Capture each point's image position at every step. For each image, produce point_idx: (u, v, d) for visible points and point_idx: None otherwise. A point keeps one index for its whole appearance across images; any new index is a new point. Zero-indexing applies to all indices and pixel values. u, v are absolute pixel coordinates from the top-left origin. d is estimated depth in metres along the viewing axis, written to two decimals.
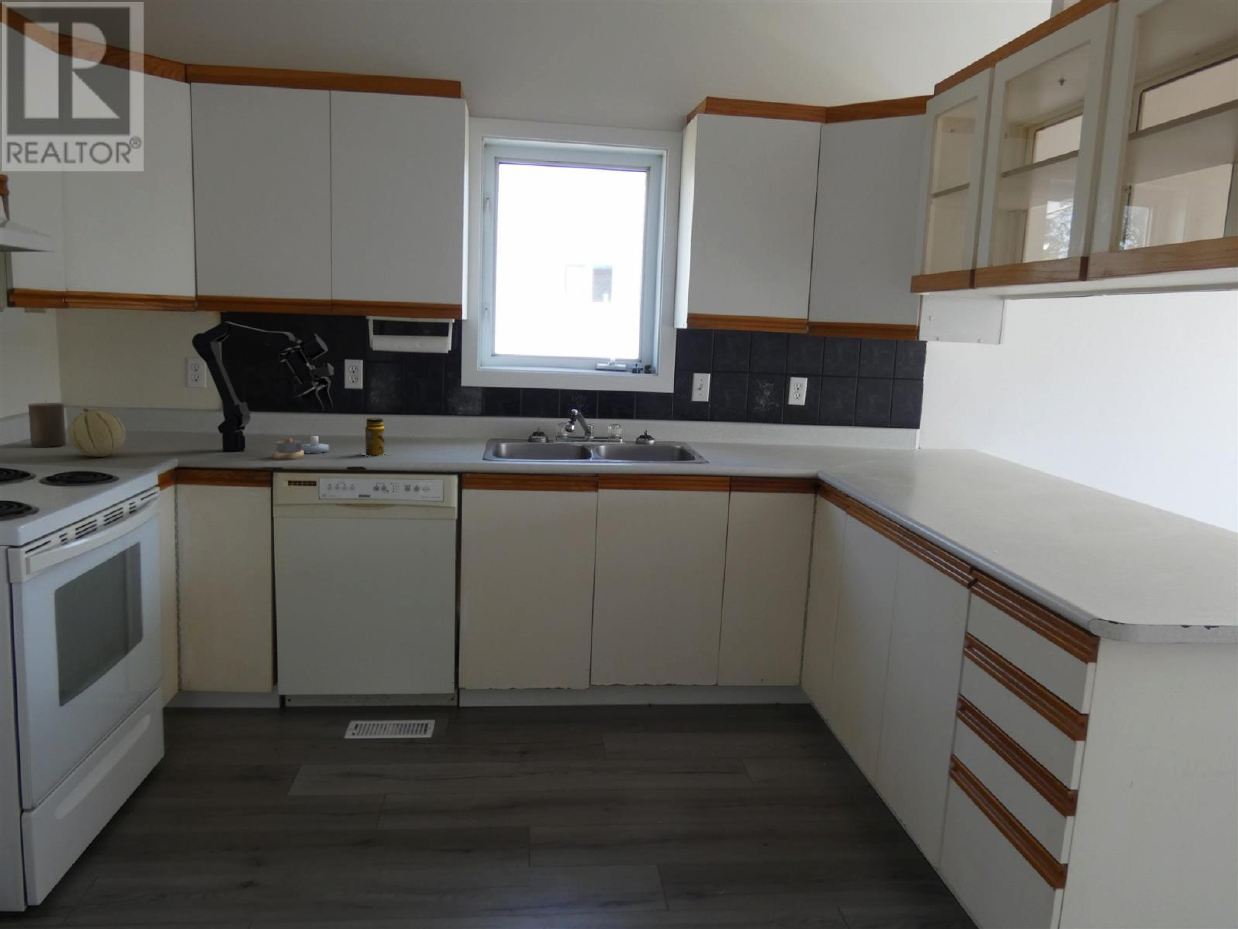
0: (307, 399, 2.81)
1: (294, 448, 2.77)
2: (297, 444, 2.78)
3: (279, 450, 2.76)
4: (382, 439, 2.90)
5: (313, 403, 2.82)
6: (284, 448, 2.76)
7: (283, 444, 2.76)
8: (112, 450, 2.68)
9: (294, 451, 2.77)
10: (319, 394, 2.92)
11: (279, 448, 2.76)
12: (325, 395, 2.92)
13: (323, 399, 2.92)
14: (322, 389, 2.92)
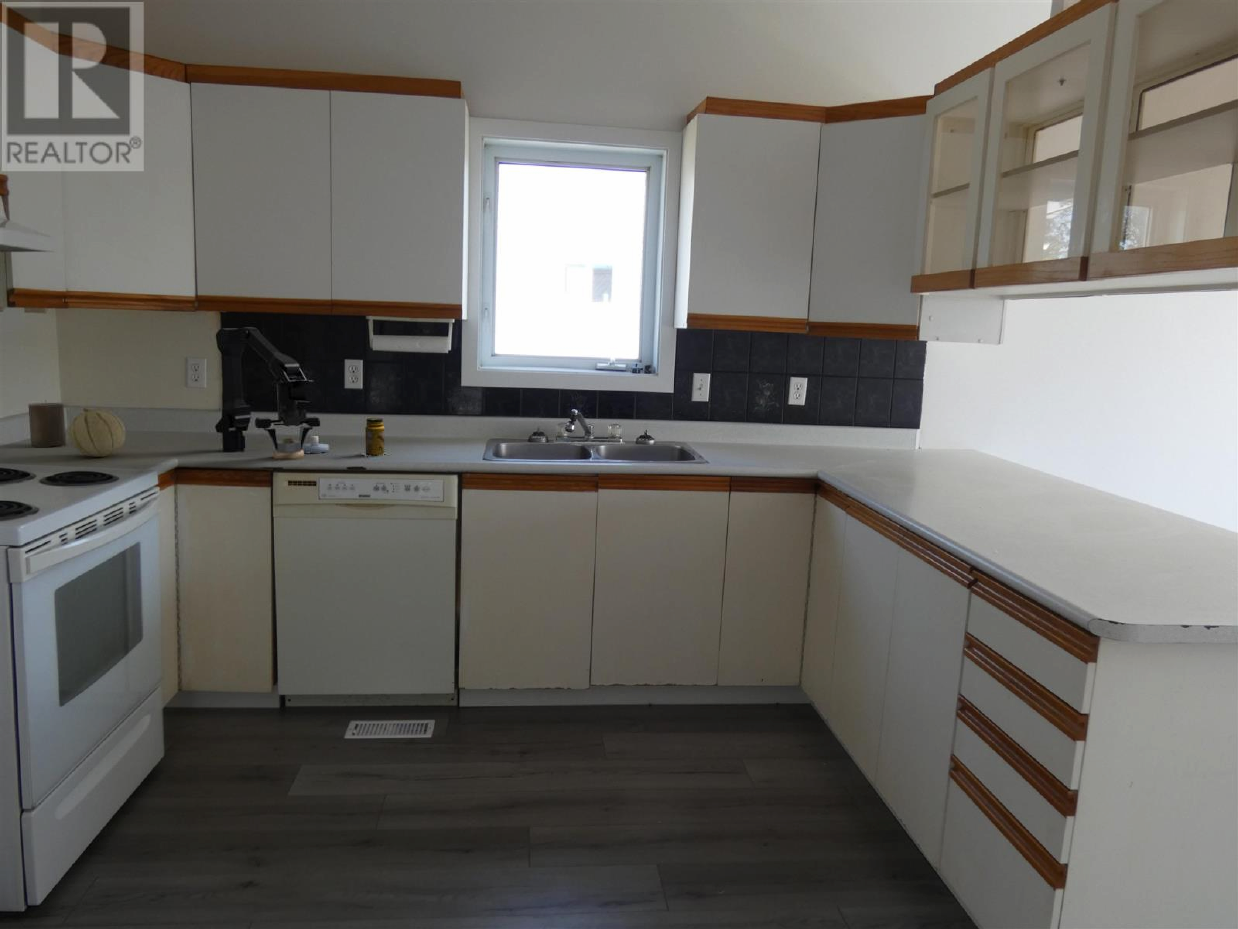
0: (269, 432, 2.77)
1: (294, 448, 2.77)
2: (297, 444, 2.78)
3: (279, 450, 2.76)
4: (382, 439, 2.90)
5: None
6: (284, 448, 2.76)
7: (283, 444, 2.76)
8: (112, 450, 2.68)
9: (294, 451, 2.77)
10: (300, 430, 2.82)
11: (279, 448, 2.76)
12: (301, 435, 2.81)
13: (300, 437, 2.82)
14: (302, 428, 2.80)
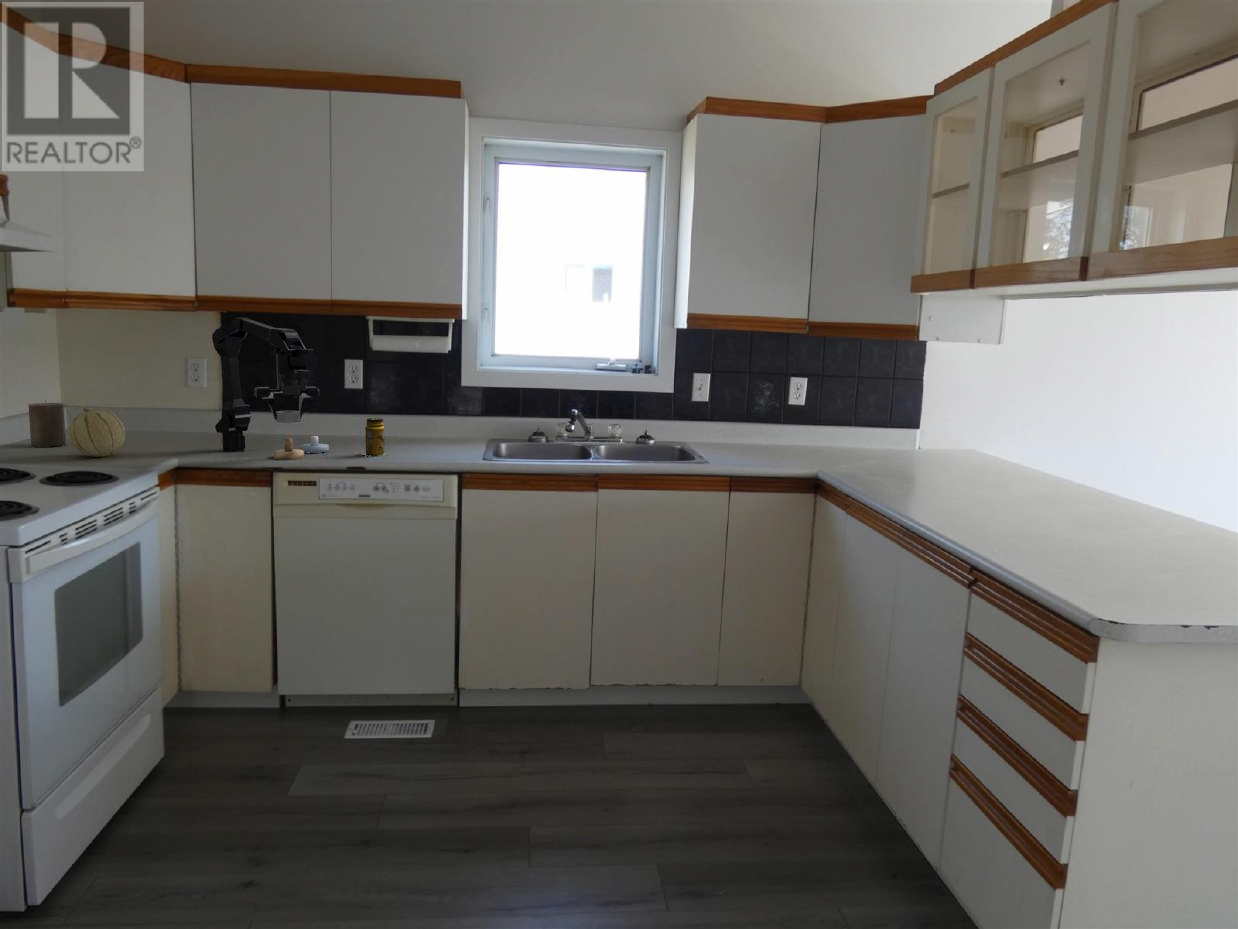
0: (268, 402, 2.76)
1: (293, 418, 2.75)
2: (296, 414, 2.76)
3: (278, 420, 2.75)
4: (382, 439, 2.90)
5: (271, 409, 2.76)
6: (283, 418, 2.74)
7: (282, 414, 2.74)
8: (112, 450, 2.68)
9: (293, 421, 2.76)
10: (300, 401, 2.80)
11: (278, 418, 2.75)
12: (300, 405, 2.79)
13: (299, 407, 2.80)
14: (301, 398, 2.79)
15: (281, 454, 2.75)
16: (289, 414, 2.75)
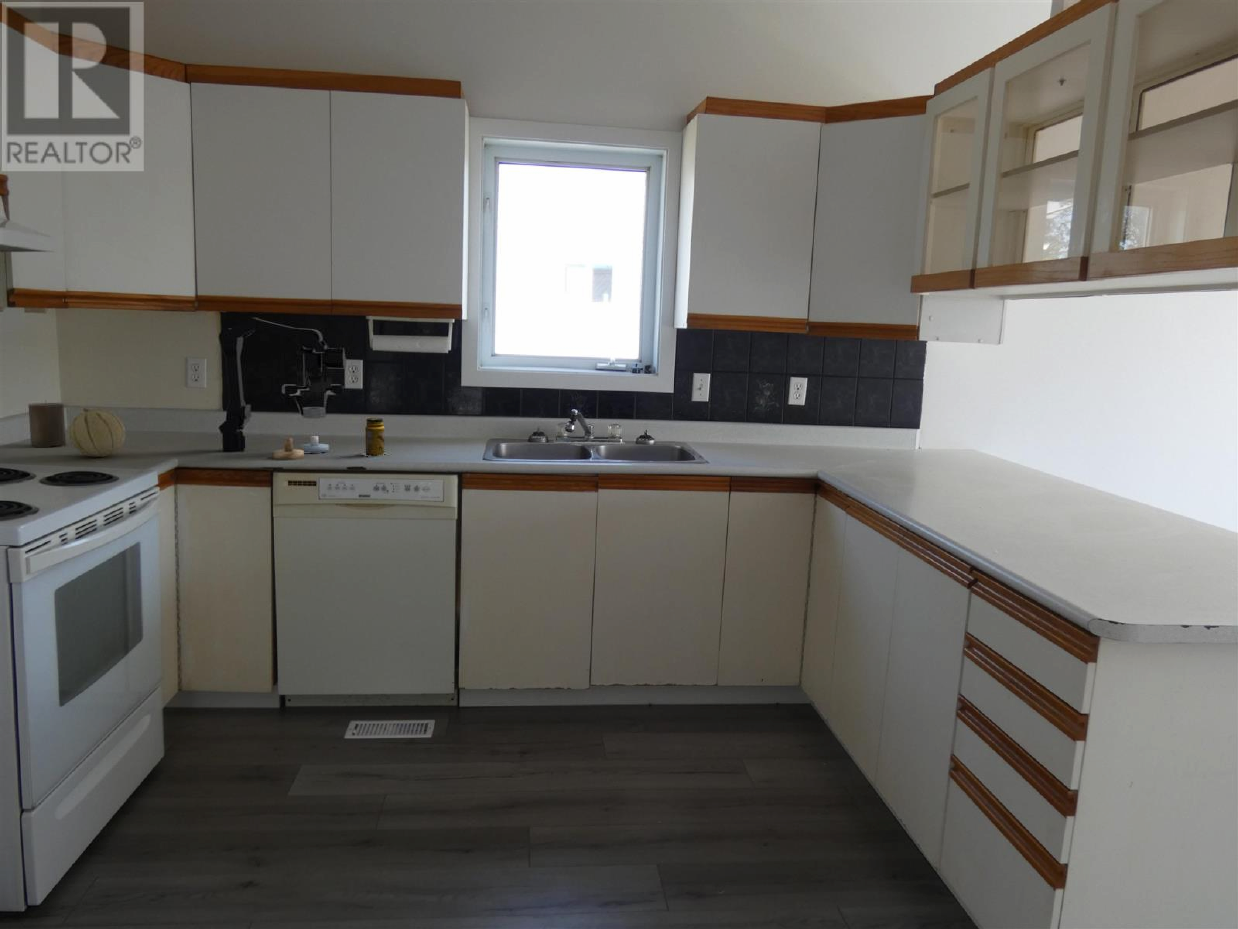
0: (295, 399, 2.89)
1: (319, 414, 2.89)
2: (322, 410, 2.90)
3: (305, 416, 2.88)
4: (382, 439, 2.90)
5: (297, 405, 2.89)
6: (310, 414, 2.88)
7: (309, 410, 2.88)
8: (112, 450, 2.68)
9: (319, 417, 2.89)
10: (325, 397, 2.94)
11: (305, 414, 2.88)
12: (325, 402, 2.92)
13: (324, 404, 2.94)
14: (326, 395, 2.92)
15: (281, 454, 2.75)
16: (315, 410, 2.88)
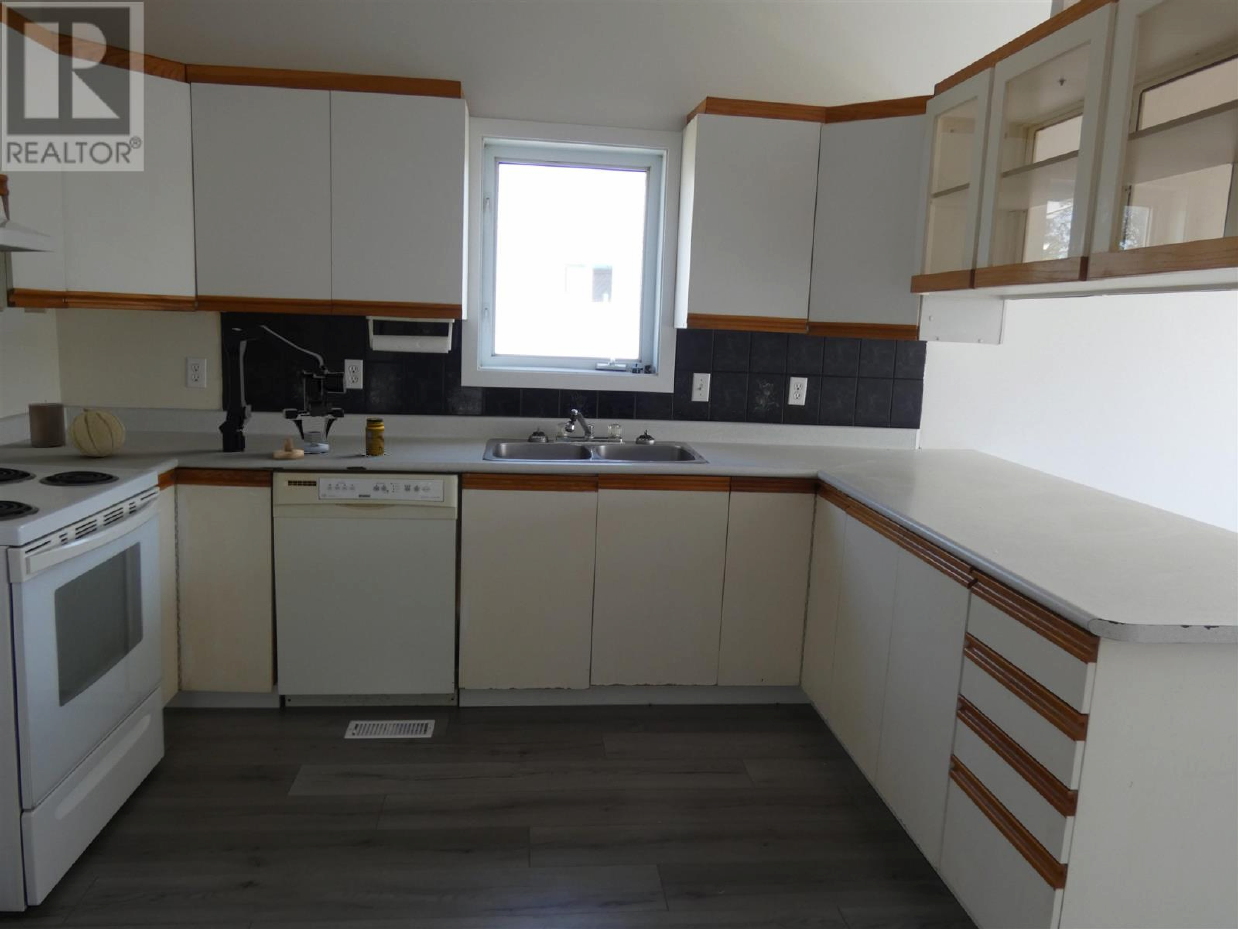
0: (295, 423, 2.91)
1: (320, 438, 2.90)
2: (322, 434, 2.91)
3: (305, 440, 2.90)
4: (382, 439, 2.90)
5: (298, 430, 2.91)
6: (310, 438, 2.89)
7: (309, 434, 2.89)
8: (112, 450, 2.68)
9: (320, 441, 2.90)
10: (325, 421, 2.95)
11: (305, 438, 2.89)
12: (326, 426, 2.94)
13: (324, 428, 2.95)
14: (326, 419, 2.94)
15: (281, 454, 2.75)
16: (315, 434, 2.89)
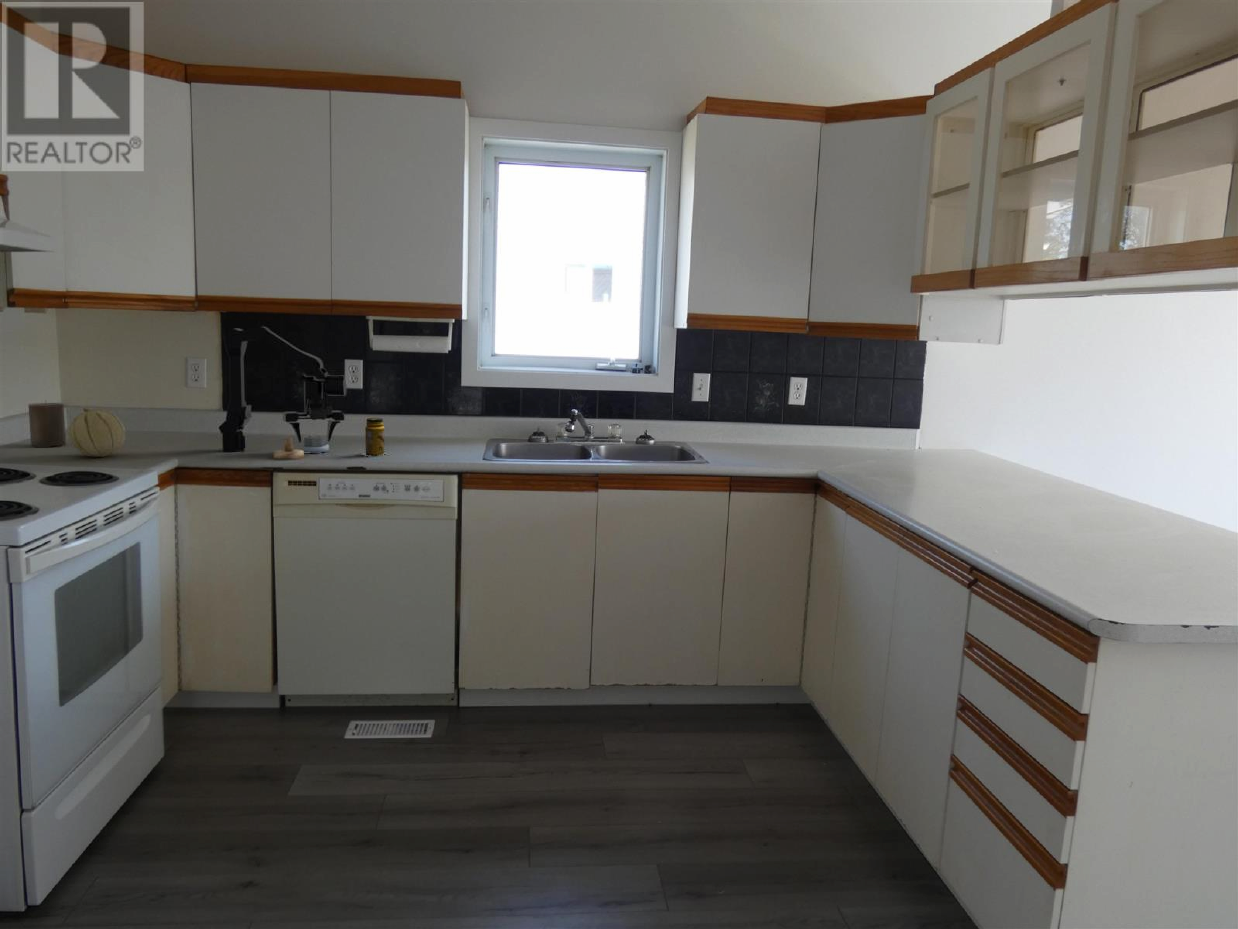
0: (292, 426, 2.90)
1: (320, 442, 2.90)
2: (323, 439, 2.92)
3: (306, 444, 2.90)
4: (382, 439, 2.90)
5: (295, 432, 2.90)
6: (310, 442, 2.89)
7: (309, 439, 2.89)
8: (112, 450, 2.68)
9: (320, 445, 2.91)
10: (328, 424, 2.96)
11: (306, 442, 2.90)
12: (329, 429, 2.94)
13: (327, 430, 2.96)
14: (329, 422, 2.94)
15: (281, 454, 2.75)
16: (316, 439, 2.90)
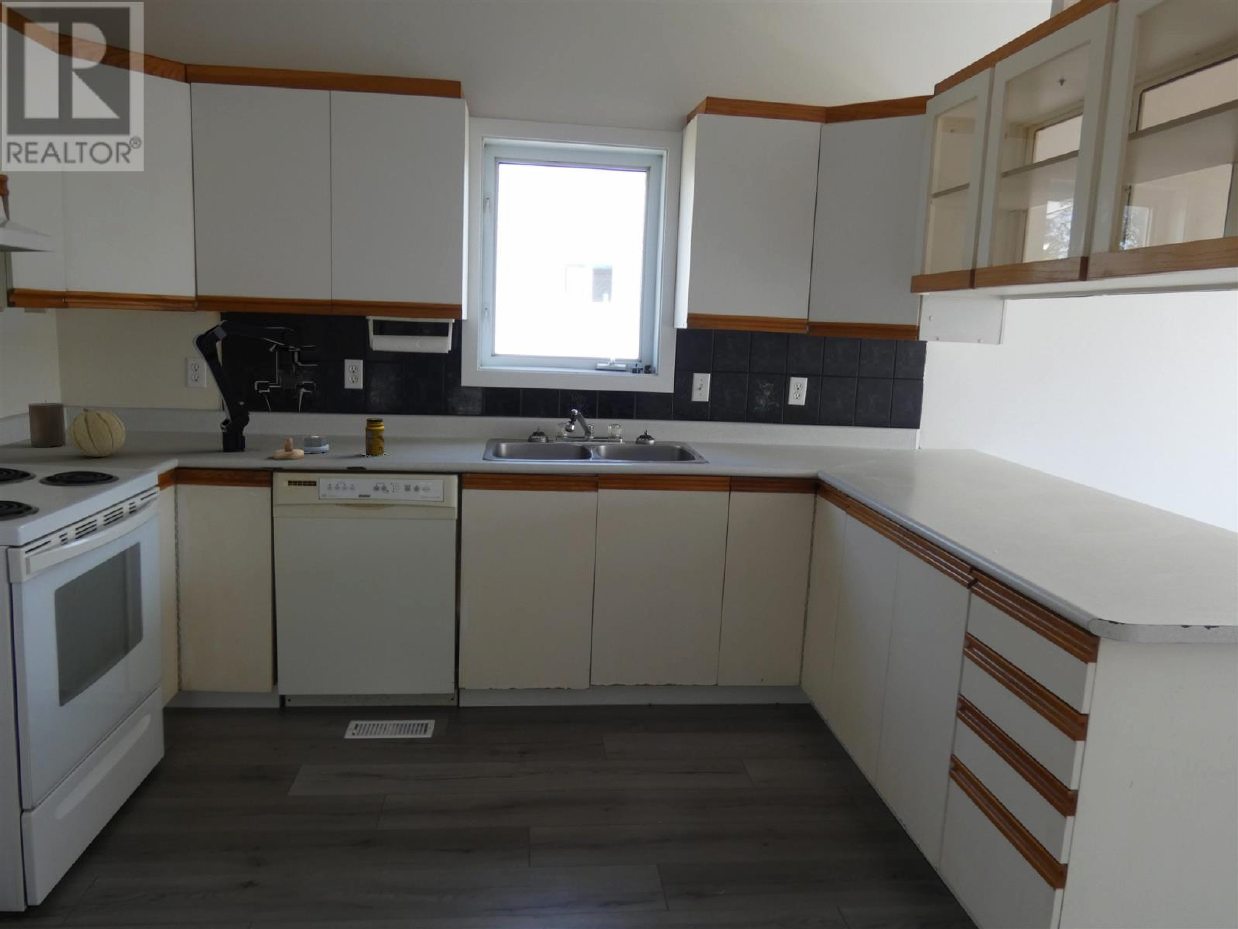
0: (265, 395, 2.96)
1: (320, 442, 2.90)
2: (323, 439, 2.92)
3: (306, 444, 2.90)
4: (382, 439, 2.90)
5: (267, 402, 2.96)
6: (310, 442, 2.89)
7: (309, 439, 2.89)
8: (112, 450, 2.68)
9: (320, 445, 2.91)
10: (300, 395, 3.00)
11: (306, 442, 2.90)
12: (300, 399, 2.99)
13: None
14: (301, 392, 2.99)
15: (281, 454, 2.75)
16: (316, 439, 2.90)
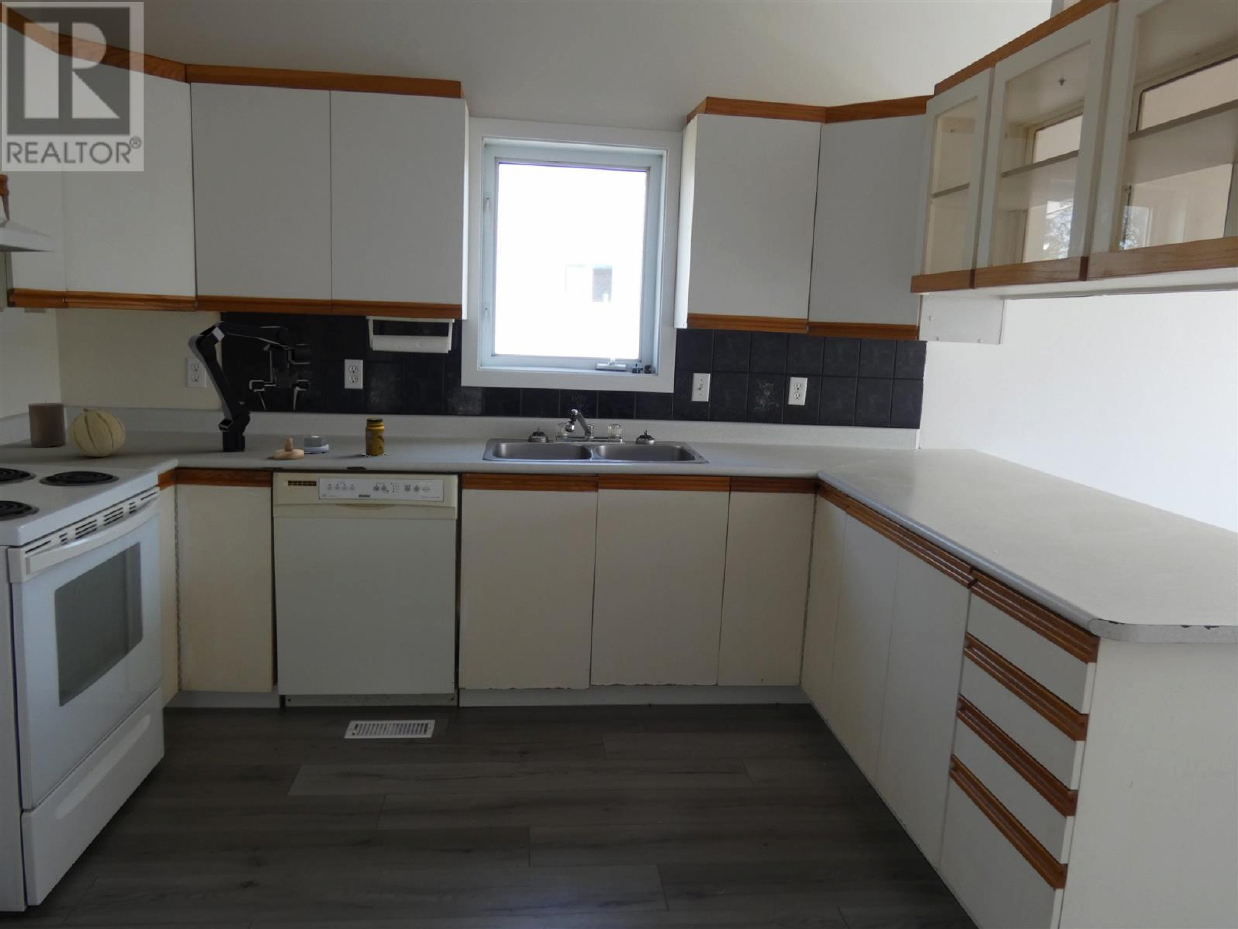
0: (259, 394, 2.97)
1: (320, 442, 2.90)
2: (323, 439, 2.92)
3: (306, 444, 2.90)
4: (382, 439, 2.90)
5: (262, 401, 2.97)
6: (310, 442, 2.89)
7: (309, 439, 2.89)
8: (112, 450, 2.68)
9: (320, 445, 2.91)
10: (294, 393, 3.02)
11: (306, 442, 2.90)
12: (295, 397, 3.01)
13: (294, 399, 3.02)
14: (296, 391, 3.00)
15: (281, 454, 2.75)
16: (316, 439, 2.90)
